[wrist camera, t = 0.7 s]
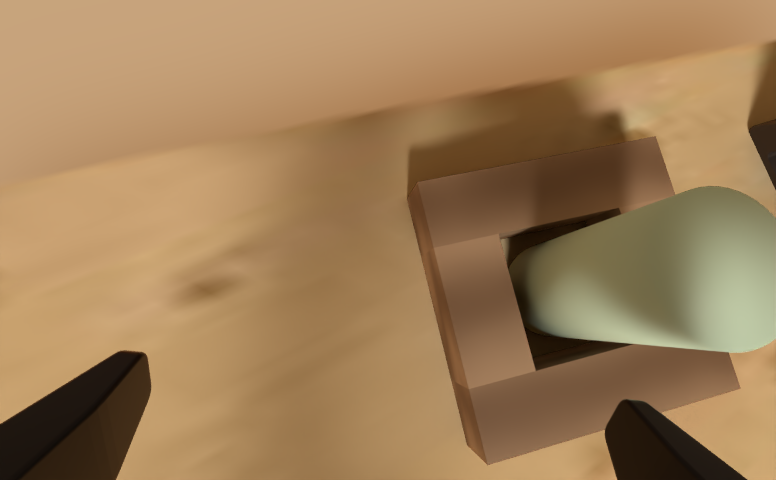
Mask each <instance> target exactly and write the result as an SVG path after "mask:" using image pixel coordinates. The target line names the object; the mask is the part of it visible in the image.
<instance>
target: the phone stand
mask: <svg viewBox="0 0 776 480" xmlns="http://www.w3.org/2000/svg"><path fill="white" fill-rule="evenodd" d="M749 133H750V136H751V138H752V140H753V142H754V144H755V146H756V149H757V151H758V153H759V155H760V157H761V159H762V161H763V164H764V166H765V168H766V170H767V172H768V174H769V177H770V179H771V181H772V183H773V185H774V187H775V189H776V119H775V120H772V121H769V122H766V123H762V124H759V125H756V126H753V127H752V128H751V129H750V131H749Z"/></svg>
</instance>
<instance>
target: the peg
mask: <svg viewBox="0 0 776 480" xmlns="http://www.w3.org/2000/svg"><path fill="white" fill-rule="evenodd" d="M508 271H509V274H510V278H511V282H512V285H513V289H514V293H515V296H516V300H517V304H518V307H519V311H520V315H521V318H522V322H523V326H524V327H526V328H527V329H529V330H530V331H532V332H534V333H537V334H540V335H544V336H552V337H563V338H574V339H586V340H597V341H608V342H619V343H630V344H641V345H652V346H664V347H675V348H686V349H697V350H708V351H719V352H730V353H741V352H748V351H753V350H756V349H759V348H761V347H763V346H765V345H767V344H769V343H770V342H772V341H773V340H775V339H776V218H775V217H774V216H773V215H772V214H771V213H770V212H769V211H768V210H767V209H766V208H765V207H764V206H763V205H761V204H760V203H759V202H757V201H756V200H754V199H753V198H751V197H749V196H748V195H746V194H743V193H741V192H739V191H736V190H733V189H730V188H725V187H719V186H706V187H698V188H694V189H691V190H688V191H685V192H682V193H680V194H677V195H674V196H671V197H668V198H666V199H663V200H660V201H657V202H655V203H652V204H649V205H646V206H643V207H641V208H638V209H635V210H632V211H629V212H627V213H624V214H621V215H618V216H616V217H613V218H610V219H607V220H604V221H602V222H599V223H596V224H593V225H591V226H588V227H585V228H582V229H579V230H577V231H574V232H571V233H568V234H566V235H563V236H560V237H557V238H554V239H552V240H549V241H546V242H543V243H540V244H538V245H535V246H532V247H530V248H527V249H526V250H524V251H522V252H521V253H520V254H519V255H518V256H517V257H516V258H515V259H514V260H513V262H512V263H511V265H510V267H509V269H508Z"/></svg>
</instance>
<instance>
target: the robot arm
mask: <svg viewBox="0 0 776 480" xmlns="http://www.w3.org/2000/svg"><path fill="white" fill-rule="evenodd" d="M150 393H151V379H150V372H149V364H148V358H147V355H146V354H145V353H143V352H136V351H126V350H123V351H119V352H117V353H115V354H113V355H112V356H110V357H108V358H107V359H105V360H104V361H102V362H100V363H99V364H97V365H95V366H94V367H92V368H91V369H89V370H87V371H86V372H84V373H82V374H81V375H79V376H78V377H76V378H74V379H73V380H71V381H69V382H68V383H66V384H65V385H63V386H61V387H60V388H58V389H56V390H55V391H53V392H52V393H50V394H48V395H47V396H45V397H43V398H42V399H40V400H39V401H37V402H35V403H34V404H32V405H30V406H29V407H27V408H26V409H24V410H22V411H21V412H19V413H17V414H16V415H14V416H13V417H11V418H9V419H8V420H6V421H4V422H3V423H1V424H0V480H116V478H117V476H118V474H119V471H120V469H121V467H122V464H123V462H124V459H125V457H126V454H127V452H128V449H129V447H130V444H131V442H132V439H133V437H134V434H135V432H136V429H137V427H138V425H139V422H140V420H141V417H142V415H143V412H144V410H145V407H146V405H147V402H148V400H149V397H150ZM605 439H606V443H607V446H608V450H609V453H610V457H611V460H612V463H613V467H614V470H615V474H616V477H617V480H747V479H746V478H745V477H743V476H742V475H741V474H739V473H738V472H737V471H735V470H734V469H733V468H731V467H730V466H729V465H728V464H726V463H725V462H724V461H722V460H721V459H720V458H718V457H717V456H716V455H715V454H713V453H712V452H711V451H709V450H708V449H707V448H705V447H704V446H703V445H702V444H700V443H699V442H698V441H696V440H695V439H694V438H692V437H691V436H690V435H688V434H687V433H686V432H685V431H683V430H682V429H681V428H679V427H678V426H677V425H675V424H674V423H673V422H672V421H670V420H669V419H668V418H666V417H665V416H664V415H662V414H661V413H660V412H658V411H657V410H656V409H655V408H653V407H652V406H651V405H649V404H648V403H647V402H644V401H641V400H631V399H623V400H622V401H620V402H619V404H618V405H617V407H616V409H615V411H614V412H613V414H612V416H611V418H610V419H609V421H608V423H607V425H606V428H605Z"/></svg>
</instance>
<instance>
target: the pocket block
mask: <svg viewBox="0 0 776 480" xmlns="http://www.w3.org/2000/svg"><path fill="white" fill-rule="evenodd" d="M674 195H675V193H674V190H673V187H672V184H671V181H670V178H669V175H668V172H667V169H666V166H665V163H664V160H663V157H662V154H661V151H660V148H659V145H658V142H657V139H656V136H655V137H649V138H644V139H639V140H634V141H629V142H623V143H618V144H613V145H608V146H603V147H597V148H592V149H587V150H582V151H576V152H571V153H566V154H561V155H556V156H550V157H545V158H540V159H535V160H530V161H524V162H519V163H514V164H509V165H503V166H498V167H493V168H488V169H483V170H477V171H472V172H467V173H462V174H457V175H451V176H446V177H441V178H436V179H430V180H425V181H420V182H417V183H416V185H415V187H414V188H413V190H412V192H411V193H410V195H409V197H408V198H407V200H408V204H409V208H410V212H411V216H412V221H413V225H414V229H415V233H416V237H417V241H418V245H419V249H420V253H421V257H422V262H423V266H424V270H425V274H426V278H427V282H428V286H429V290H430V294H431V298H432V303H433V307H434V311H435V315H436V319H437V323H438V327H439V331H440V335H441V339H442V344H443V348H444V352H445V356H446V360H447V364H448V368H449V372H450V376H451V380H452V384H453V389H454V393H455V397H456V401H457V405H458V409H459V413H460V417H461V421H462V425H463V430H464V434H465V438H466V442H467V445H468V446H469V447H470V448H471V449H472V450H473V451H474V452H475V453H476V454H477V455H478V456H479V457H480V458H481V459H482V460H483V461H484V462H485V463H486V464H487V465H490V464H493V463H496V462H499V461H503V460H506V459H509V458H513V457H516V456H519V455H523V454H526V453H529V452H532V451H536V450H539V449H542V448H546V447H549V446H552V445H556V444H559V443H562V442H565V441H569V440H572V439H575V438H579V437H582V436H585V435H589V434H592V433H595V432H598V431H602V430H605V428H606V425H607V423H608V421H609V419H610V418H611V416H612V414H613V412H614V411H615V409H616V407H617V405H618V404H619V402H620V401H622V400H623V399H631V400H641V401H644V402H647V403H648V404H649V405H651V406H652V407H653V408H655V409H656V410H657V411H658V412H660V413H661V412H664V411H668V410H671V409H674V408H678V407H681V406H684V405H688V404H691V403H694V402H697V401H701V400H704V399H707V398H711V397H714V396H717V395H721V394H724V393H727V392H730V391H734V390H737V389H740V385H739V382H738V379H737V376H736V373H735V370H734V368H733V365H732V362H731V359H730V356H729V353H728V352H719V351H708V350H697V349H686V348H675V347H664V346H652V345H641V344H630V343H619V342H608V341H594V342H591V343H587V344H583V345H579V346H576V347H572V348H568V349H564V350H561V351H557V352H553V353H549V354H546V355H542V356H538V357H534V358H532V355H531V352H530V348H529V344H528V341H527V337H526V333H525V329H524V326H523V322H522V318H521V315H520V311H519V307H518V304H517V300H516V296H515V293H514V289H513V285H512V282H511V278H510V274H509V271H508V267H507V263H506V260H505V256H504V252H503V249H502V245H501V241H500V239H504V238H509V237H513V236H518V235H522V234H527V233H531V232H536V231H540V230H545V229H550V228H554V227H559V226H563V225H568V224H572V223H577V222H582V221H586V224H587V227H588V226H591V225H593V224H596V223H599V222H602V221H604V220H607V219H610V218H613V217H616V216H618V215H621V214H624V213H627V212H629V211H632V210H635V209H638V208H641V207H643V206H646V205H649V204H652V203H655V202H657V201H660V200H663V199H666V198H668V197H671V196H674Z"/></svg>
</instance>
